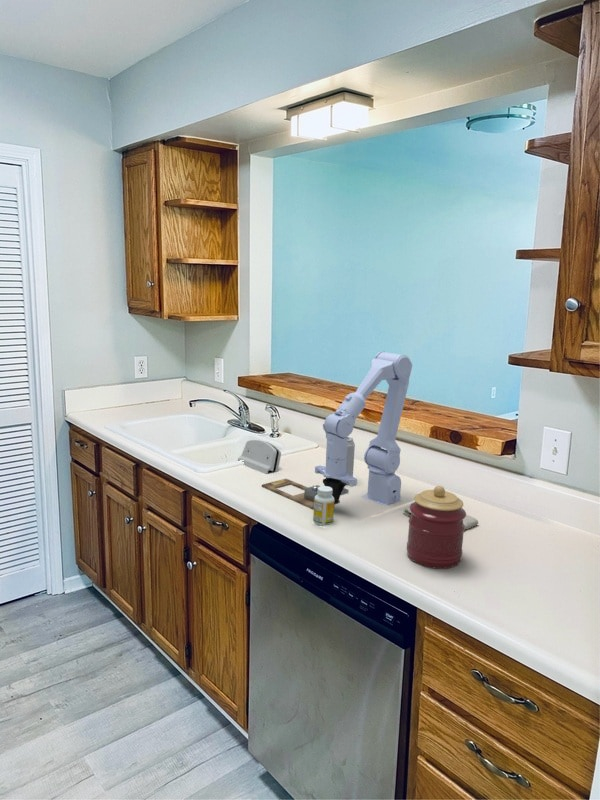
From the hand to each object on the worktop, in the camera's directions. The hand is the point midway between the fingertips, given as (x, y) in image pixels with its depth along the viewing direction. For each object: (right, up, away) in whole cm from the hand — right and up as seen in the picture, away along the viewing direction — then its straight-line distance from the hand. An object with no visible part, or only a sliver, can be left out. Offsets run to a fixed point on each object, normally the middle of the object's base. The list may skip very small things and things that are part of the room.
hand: (333, 503), depth 164 cm
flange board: (-10, 0, +11) cm, 15 cm away
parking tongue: (0, +1, +14) cm, 14 cm away
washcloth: (+29, -5, -3) cm, 30 cm away
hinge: (-24, +6, +38) cm, 45 cm away
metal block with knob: (-5, 0, +6) cm, 7 cm away
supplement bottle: (-3, -4, -8) cm, 9 cm away
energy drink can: (+4, +2, +23) cm, 24 cm away
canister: (+22, -8, -25) cm, 35 cm away
